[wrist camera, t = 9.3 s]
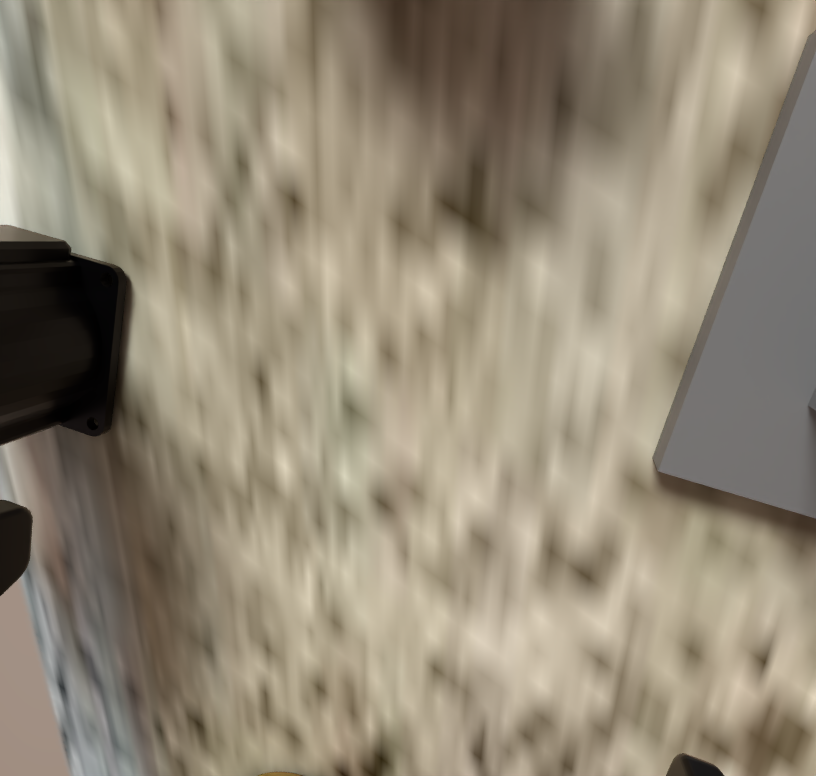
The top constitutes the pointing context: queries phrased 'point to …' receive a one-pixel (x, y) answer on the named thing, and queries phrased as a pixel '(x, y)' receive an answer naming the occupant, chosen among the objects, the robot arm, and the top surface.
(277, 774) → the paper tube
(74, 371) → the robot arm
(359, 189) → the top surface
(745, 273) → the stand base
